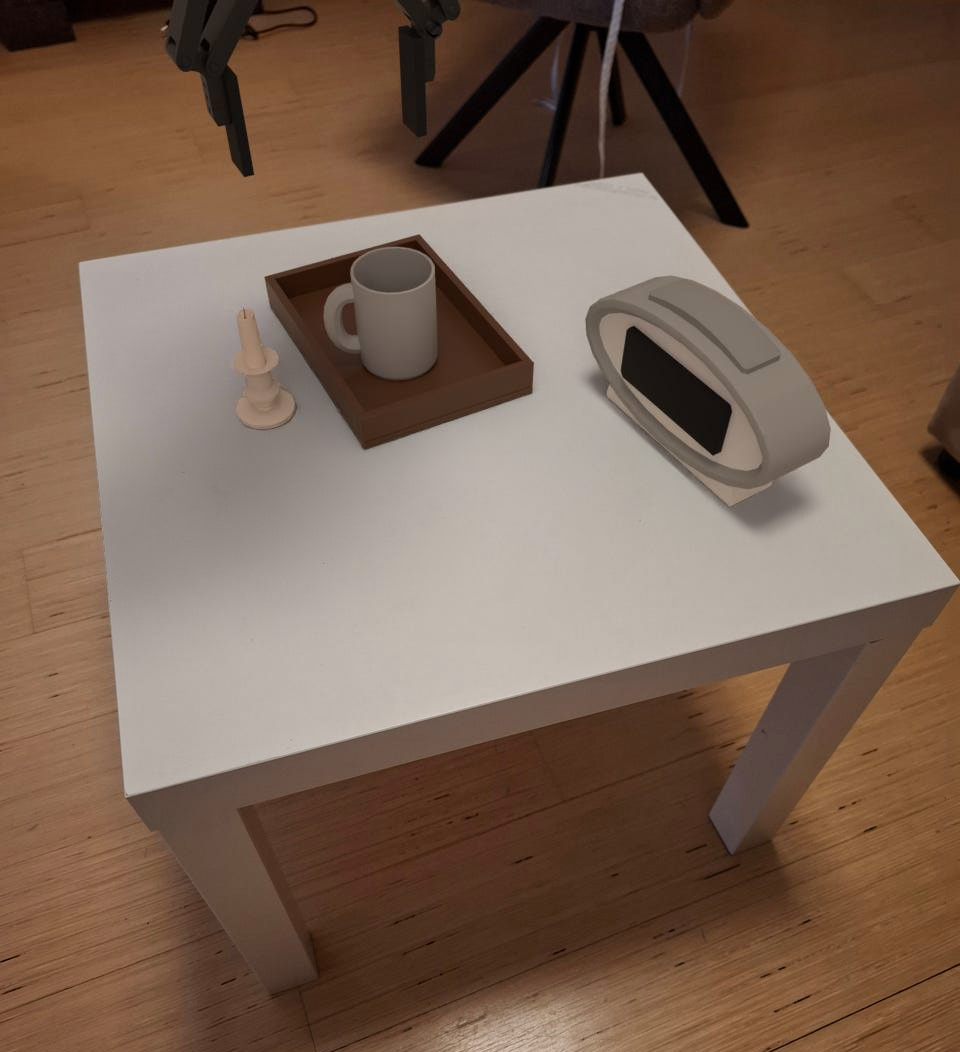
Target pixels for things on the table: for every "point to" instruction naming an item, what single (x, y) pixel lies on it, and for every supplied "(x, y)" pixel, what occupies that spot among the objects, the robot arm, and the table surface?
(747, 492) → the alarm clock
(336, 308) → the cup
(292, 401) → the candle
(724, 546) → the table surface
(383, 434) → the tray
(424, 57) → the robot arm
